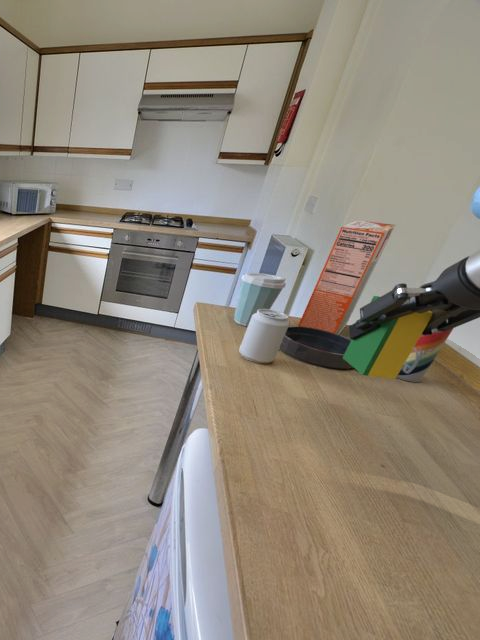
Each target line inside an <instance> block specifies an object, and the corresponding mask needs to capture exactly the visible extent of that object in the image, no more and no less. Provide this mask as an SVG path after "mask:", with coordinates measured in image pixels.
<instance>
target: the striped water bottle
mask: <svg viewBox="0 0 480 640" xmlns="http://www.w3.org/2000/svg"><path fill="white" fill-rule="evenodd" d="M447 323H448V319H447ZM453 330H454V328H452V329H450V330H448V331H444V332H441V331H438V330H437V329H433V330H432V335H422V334H421V336H420V338H419V339H418V341H417V343H416V345H415V346H414V348H413V350H412V351H411V353H410V355H409V357H408V358H407V360H406V362H405V363H404V365H403V367H402V369H401V370H400V372H399V374H398V375H397V377H396V379H399V380H403V381H406V382H412V383H419V382H421V381H422V380H423V378H424V376H425V375H426V373H427V372H428V370H429V369H430V367H431V366H432V364H433V362H434V360H435V359H436V357H437V355H438V354H439V353H440V351H441V350H442V348H443V346H444V344H445V343H446V341H447V340H448V338H449V336H450V335H451V334H452V331H453Z"/></svg>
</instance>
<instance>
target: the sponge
mask: <svg viewBox="0 0 480 640" xmlns="http://www.w3.org/2000/svg"><path fill="white" fill-rule="evenodd" d="M379 297H380V296H378V295H377V296H376V295H373V296H372V298H371V300H370V302H372V301H374V300H376V299H378V298H379ZM431 316H432V312H431V311H428V312H425V313H421V314H420V313H412V314H409V315H406V316H403V317H400V318H397V319H394V320H391V321H387V322H384V323H381V324H380V327H379V328H377V329H375V330H373V331H371V332H369V333H367V334H365V335H363V336H361V337H359V338H357V339H355V340H351V342H350V344H349V346H348V348H347V350H346V352H345V354H344V356H343V359H344V360H345V361H347V362H348V363H349V364H350V365H351V366H353V367H354V368H353V369H355V370H356V371H357V372H358V373H360V374H361V375H363V376H368V377H375V378H381V379H389V380H395V381H396V379H397V375H398V374H399V372H400V370H401V369H402V367H403V365H404V363H405V362H406V360H407V358H408V357H409V355H410V353H411V351H412V350H413V348H414V346H415V345H416V343H417V341H418V339H419V338H420V336H421V334H422V333H423V331H424V329H425V327H426V326H427V324H428V322H429V320H430V319H431Z"/></svg>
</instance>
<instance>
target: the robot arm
mask: <svg viewBox="0 0 480 640" xmlns="http://www.w3.org/2000/svg"><path fill="white" fill-rule="evenodd" d="M472 196H473V197H472V200H471V203H470V210H471V212H472V215H474V217H475V218H477V219H479V220H480V186H478V188H477V189H476V191H475V192H474V194H473V195H472ZM428 311H431V312H432V316H431V319H430V320H429V322H428V324H427V326H426V327H425V329H424V331H423V333H422V335H432V330H433V329H437V330H438V331H441V332H444V331H448V330H450V329H452V328H453V329H455V328H457V327H460V326H462V325H464V324H467V323H470V322H472V321H474V320H477V319H480V249H478V250H476V251H475V252H472V254H471V255H468V256H466V257H464V258H462V259H461V260H458V261H457V262H455V263H453V264H451V265H450V266H448V267H447V268H445V269H443V271H442V272H441V273H440V274H439V276H438V277H437V279H435V280H434V281H431V282H427V283H424V284H421V286H419V287H408V286H407V283H405V282H404V283H397V284H395V285H394V286H393V288H392V290H390V291H388V292H387V293H385V294H383V295H381V296H379V298H378V299H376V300H374V301H372V302H371V301H370V302H369V303H367V304H365V305H363V306H361V307H360V308H359V317H360V318H359V319H357V320H356V321H355V322H354V323H352V324H350V325H349V326H348V334H349V337H348V338H349V339H351V340H355V339H357V338H359V337H361V336H363V335H365V334H367V333H369V332H371V331H373V330H375V329H377V328H379V327H380V324H381V323H384V322H387V321H391V320H394V319H397V318H400V317H403V316H406V315H409V314H412V313H420V314H421V313H425V312H428ZM447 319H448V323H447Z"/></svg>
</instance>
